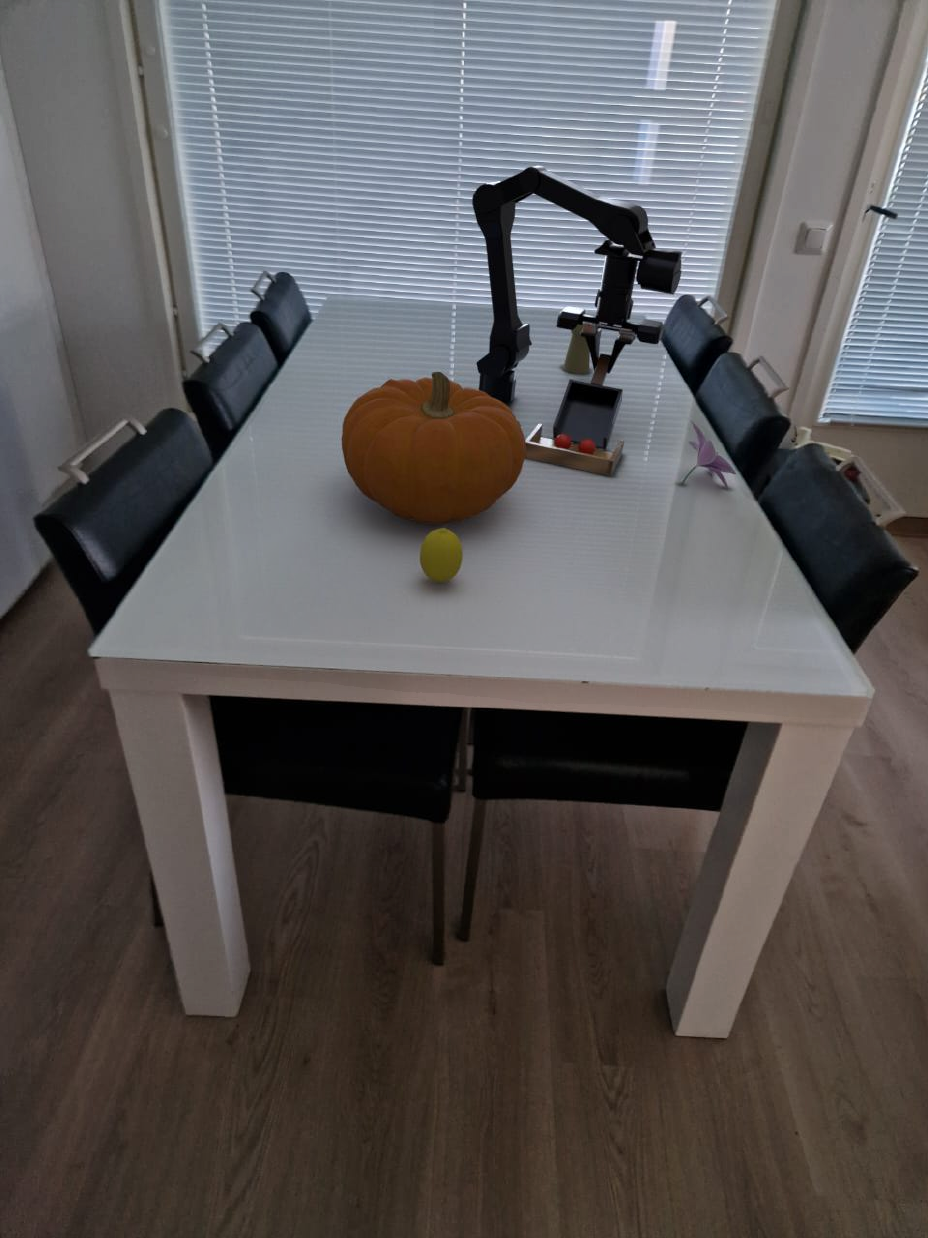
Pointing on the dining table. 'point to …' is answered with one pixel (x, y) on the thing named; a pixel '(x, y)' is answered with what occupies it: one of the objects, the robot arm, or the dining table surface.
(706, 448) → the lily
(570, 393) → the pan
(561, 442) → the tomato
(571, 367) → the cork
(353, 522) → the dining table surface
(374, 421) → the pumpkin
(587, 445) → the tomato
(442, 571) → the lemon
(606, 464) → the tray
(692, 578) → the dining table surface
